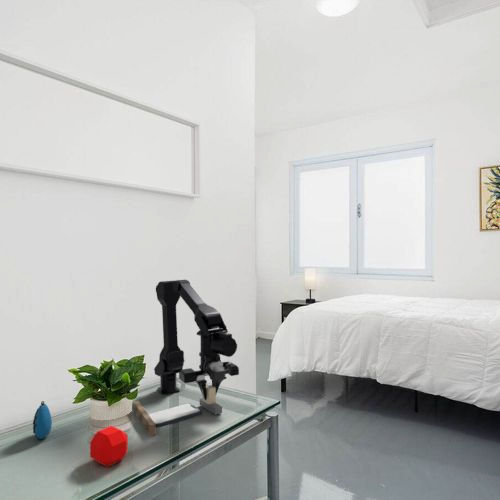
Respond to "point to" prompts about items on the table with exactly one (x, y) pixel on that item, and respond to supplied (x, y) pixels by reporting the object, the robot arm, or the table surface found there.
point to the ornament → (42, 421)
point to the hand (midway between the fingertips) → (209, 398)
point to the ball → (109, 446)
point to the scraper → (211, 401)
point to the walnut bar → (144, 418)
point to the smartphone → (174, 414)
